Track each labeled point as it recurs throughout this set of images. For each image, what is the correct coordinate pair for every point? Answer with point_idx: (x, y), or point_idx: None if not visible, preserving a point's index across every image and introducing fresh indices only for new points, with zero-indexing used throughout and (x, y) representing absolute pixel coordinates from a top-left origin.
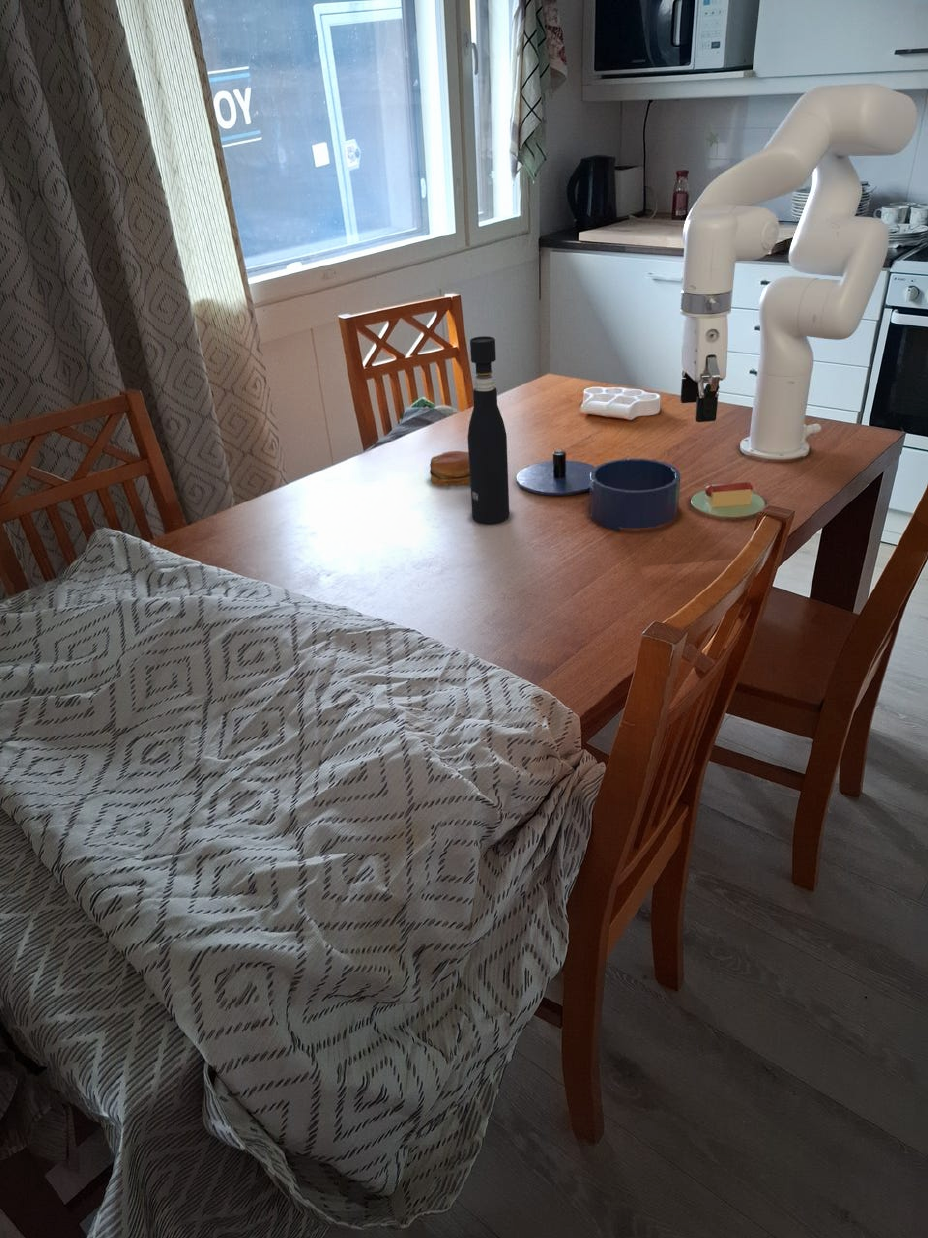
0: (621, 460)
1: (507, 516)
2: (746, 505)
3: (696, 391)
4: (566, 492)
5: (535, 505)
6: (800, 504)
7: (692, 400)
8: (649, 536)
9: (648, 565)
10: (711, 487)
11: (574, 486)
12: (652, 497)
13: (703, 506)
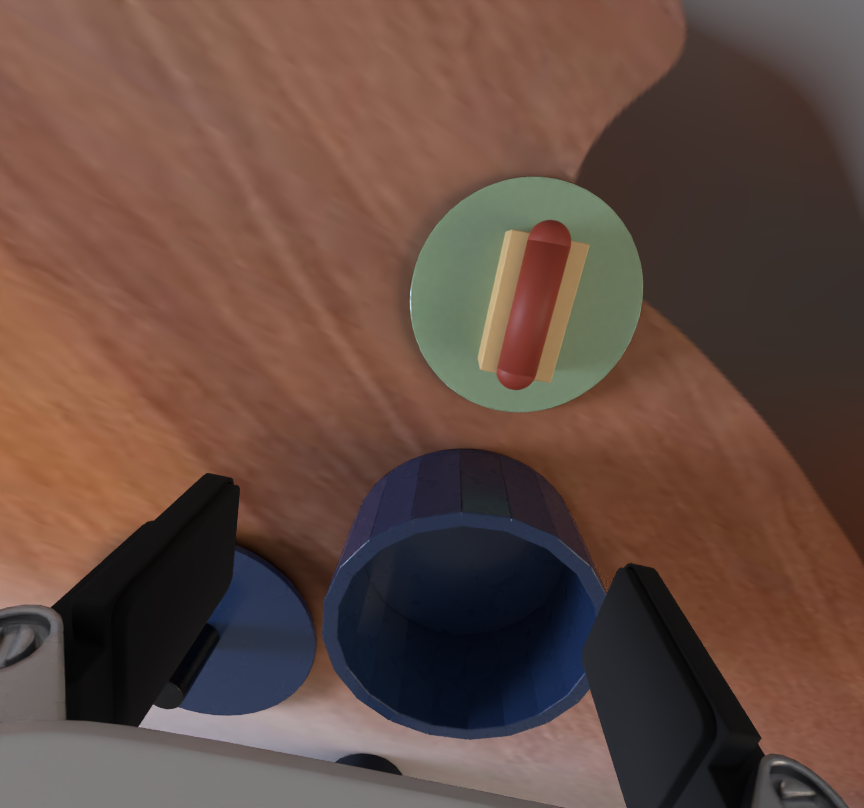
0: (333, 626)
1: (389, 769)
2: None
3: (199, 556)
4: (314, 654)
5: (336, 702)
6: (629, 46)
7: (232, 533)
8: (600, 567)
9: (727, 623)
10: (527, 380)
11: (282, 628)
12: None
13: (524, 389)
